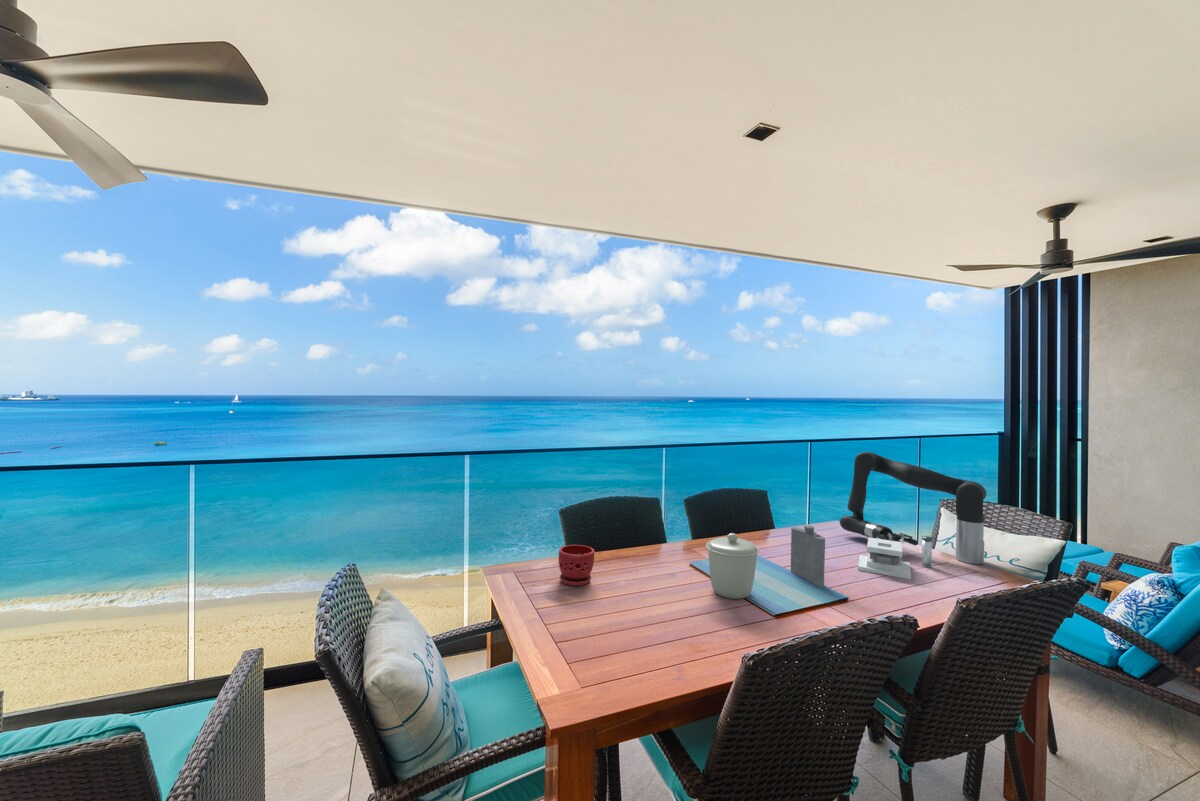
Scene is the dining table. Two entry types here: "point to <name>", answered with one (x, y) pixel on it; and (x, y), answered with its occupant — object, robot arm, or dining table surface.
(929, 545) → the clevis pin
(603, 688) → the dining table surface
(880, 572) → the clevis bracket
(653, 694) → the dining table surface
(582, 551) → the plant pot
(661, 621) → the dining table surface
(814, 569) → the hip flask
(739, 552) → the canister
